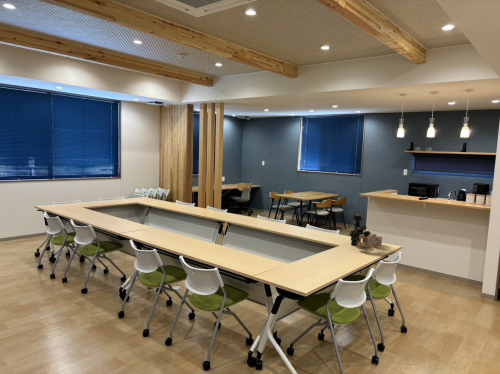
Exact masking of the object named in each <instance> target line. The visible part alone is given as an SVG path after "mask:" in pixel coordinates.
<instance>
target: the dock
mask: <svg viewBox="0 0 500 374" xmlns="http://www.w3.org/2000/svg"><path fill="white" fill-rule="evenodd" d="M360 250H361V251H365V252H371V251H372V250H374V247H371V246H366V249H360Z"/></svg>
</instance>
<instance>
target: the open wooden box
mask: <svg viewBox="0 0 500 374" xmlns="http://www.w3.org/2000/svg"><path fill="white" fill-rule="evenodd" d="M358 238H359V243H360V245H361V242H364V243H365V246H359V245H357V244H356V246H355V247H356V248H357V249H358V250H361V249H366V247H367V246H366V242H367V237H365V236H363V235H360V236H358ZM357 243H358V241H357Z"/></svg>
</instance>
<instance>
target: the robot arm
mask: <svg viewBox="0 0 500 374" xmlns="http://www.w3.org/2000/svg"><path fill="white" fill-rule="evenodd" d="M361 221H363V217H362V215H361V212H357V211H356V212H355V213H354V214H353V215H352V224H353V230H351V231H350V232H349V234H348V235H349V236H350V241H351V242H350V246H353V247H356V244H357V245H358V243H357V241H358V242H359V238H358V236H365V237H367V236H369V235H370V233H371V232H370V231H369V230H367V229H368V228H367V227H368V226H367V225H361Z"/></svg>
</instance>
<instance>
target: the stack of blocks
mask: <svg viewBox="0 0 500 374" xmlns="http://www.w3.org/2000/svg"><path fill="white" fill-rule="evenodd" d="M382 241H383V236H382V235H378V234H377V233H373V232H370V235H369V236H367V242H366V247H370V248H374V247H379V246H382ZM363 243H364V242H363ZM364 246H365V243H364Z"/></svg>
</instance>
